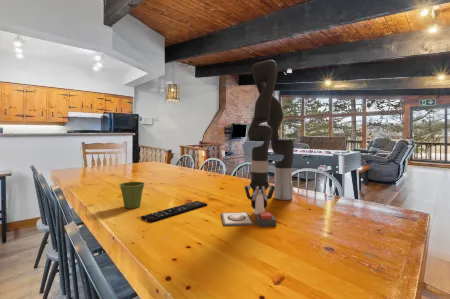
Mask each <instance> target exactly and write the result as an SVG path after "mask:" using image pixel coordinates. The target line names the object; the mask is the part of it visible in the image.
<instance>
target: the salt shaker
mask: <svg viewBox="0 0 450 299" xmlns="http://www.w3.org/2000/svg"><path fill="white" fill-rule="evenodd" d="M261 191H262V190H258V193H257V195H256V197H255V209H253V208H252V209H253V211H252V213H253V214H254V215H255V214H259V212H266V210H265V209H266V208H265V209H264V196H263V194H262V192H261Z"/></svg>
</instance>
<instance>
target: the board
mask: <svg viewBox="0 0 450 299" xmlns="http://www.w3.org/2000/svg"><path fill="white" fill-rule="evenodd" d="M220 216H221V220H222V225H223V227H228V226H229V227H234V226H235V227H237V226H240V227H241V226H254V225H255V223H254V221H253V220H252V217H251V215H250V214H249V212H248V211H247V212H221V213H220Z"/></svg>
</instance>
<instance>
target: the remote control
mask: <svg viewBox="0 0 450 299" xmlns="http://www.w3.org/2000/svg"><path fill="white" fill-rule="evenodd" d="M207 206H208V203H205V202H203V201H199V200H195V201H191V202H187V203H185V204H181V205H177V206H173V207H169V208H165V209H162V210H159V211H155V212H151V213H148V214H144V215H141V216H140V219H141V220H143V221H145V222H148V223H150V224H153V223H155V222H158V221H159V222H160V221H163V220H166V219H168V218H172V217H176V216H178V215H181V214H185V213H187V212H188V213H189V212H191V211H195V210H198V209H201V208H204V207H207Z"/></svg>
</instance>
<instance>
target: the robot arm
mask: <svg viewBox="0 0 450 299" xmlns="http://www.w3.org/2000/svg"><path fill="white" fill-rule="evenodd" d="M251 67H252V68H251V69H252V70H251V72H252V78H253V80H254V84H255V85H256V88H257V92H258V94H259V96H258V97H257V98H256V101H255V104H254V110H253V111H254V113H253V118H252V120H251V123H250V126H249V127H248V130H247V137H248V139H249V140H250V142H263V143H262V145H260V146H254V147H252V149H251V163H250V164H251V166H250V169H251V170H250V183H249V184H247V185H244V187H243V189H244V191H245V194H246V197H247V199H248V200H250V203H251V205H250V206H251V208H252V209H255V197H256V195H257V193H258V190H262V191H261V192H262V194H263V196H264V209H267V207H268V201H269V200H271V199H272V198H274V199H276V200H279V201H290V200H293V192H294V191H293V189H294V186H293V184H294V183H293V181H292V180H293V178H292V176H293V173H292V172H293V160H294V150H295V148H294V147H295V146H294V145H295V144H294V141H293V139H292V138H289V137H288V138H287V137H285V138H284V137H280V134H279V129H280V126H281V125H282V122H283V119H284V112H283V106H282V104H281V102H280V101H279V99H278V98H277V97H276V96H275V95H274V92H275V86H276V84H277V83H276V82H277V78H278V65H277V63H276V61H275V60H273V59H269V60H264V61H263V60H262V61H260V62H256V63H253V65H252V66H251ZM262 123H263V125H261V124H262ZM264 123H266V125H265V124H264ZM270 144H271V149H272V152H273V154H274V155H278V156H283V158H282V159H280V160H277V161H275V162H274V184H270V183H269V162H268V161H269V148H270ZM250 188H251V189H252V192H251V194H250V192H249V191H250ZM267 190H269V191H268V193H267V192H266V191H267Z"/></svg>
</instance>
